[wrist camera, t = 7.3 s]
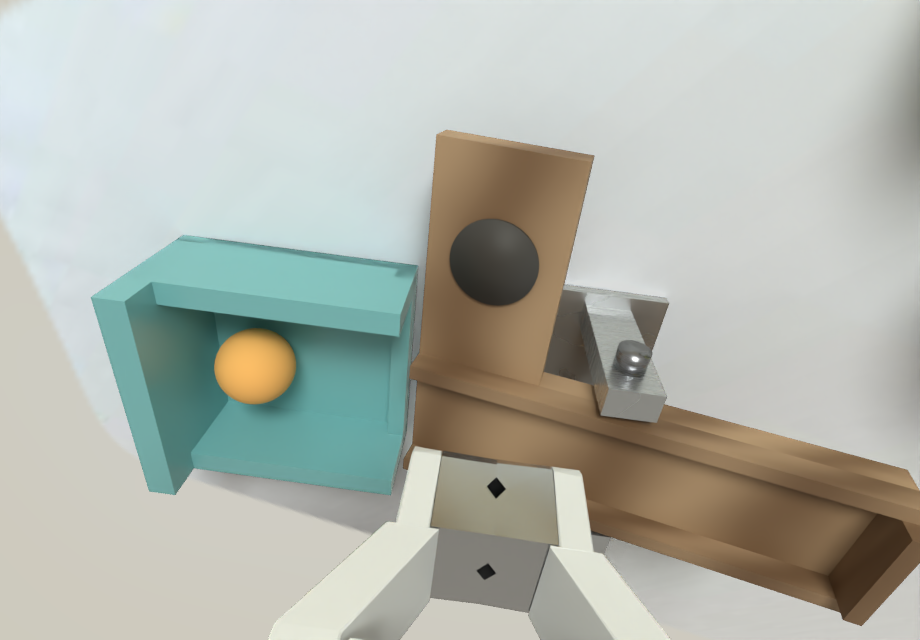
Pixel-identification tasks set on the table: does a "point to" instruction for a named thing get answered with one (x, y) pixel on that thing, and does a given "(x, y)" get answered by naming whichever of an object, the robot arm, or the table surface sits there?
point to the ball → (255, 366)
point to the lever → (617, 439)
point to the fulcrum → (610, 353)
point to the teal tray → (306, 330)
